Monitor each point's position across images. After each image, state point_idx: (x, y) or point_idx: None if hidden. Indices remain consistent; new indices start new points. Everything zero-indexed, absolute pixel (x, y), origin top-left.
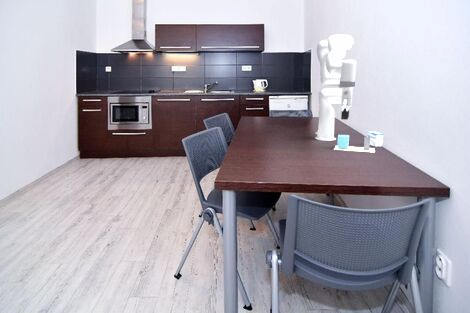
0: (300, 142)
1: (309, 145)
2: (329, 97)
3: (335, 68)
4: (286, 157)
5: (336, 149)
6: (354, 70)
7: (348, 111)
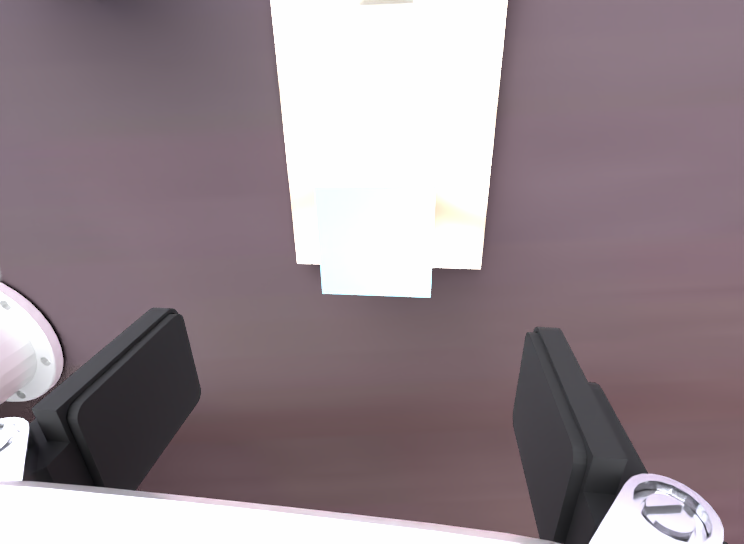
0: (207, 457)
1: (280, 411)
2: None
3: None
4: (717, 495)
5: (472, 250)
6: None
7: (94, 399)
